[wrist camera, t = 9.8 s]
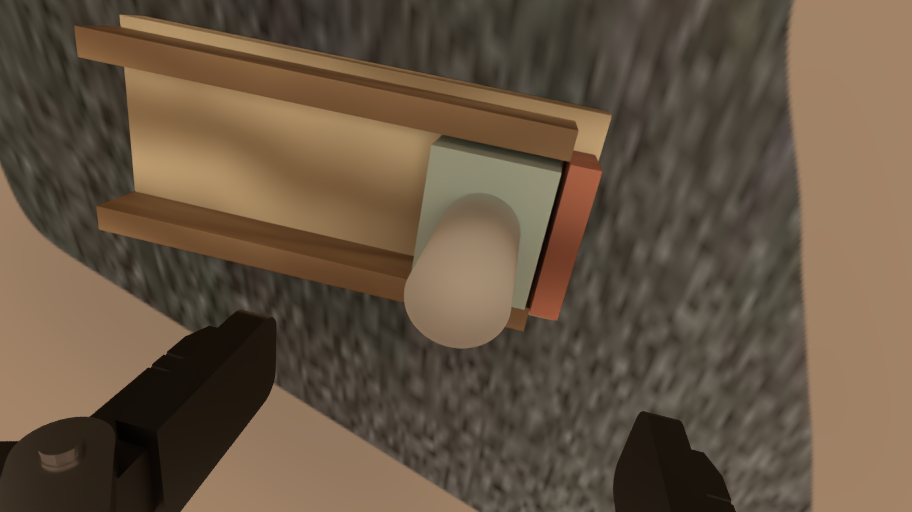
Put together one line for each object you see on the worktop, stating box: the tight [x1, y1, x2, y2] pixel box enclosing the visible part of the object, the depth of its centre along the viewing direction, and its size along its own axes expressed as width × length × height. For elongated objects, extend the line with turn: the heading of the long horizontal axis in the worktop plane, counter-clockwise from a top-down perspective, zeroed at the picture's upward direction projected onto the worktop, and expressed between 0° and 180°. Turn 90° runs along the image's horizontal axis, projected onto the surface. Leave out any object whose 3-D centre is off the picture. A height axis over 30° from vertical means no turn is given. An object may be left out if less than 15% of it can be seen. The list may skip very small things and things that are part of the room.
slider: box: [404, 135, 561, 348], centre depth 19 cm, size 6×5×9 cm
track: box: [74, 15, 612, 331], centre depth 23 cm, size 10×22×4 cm, turn 80°
